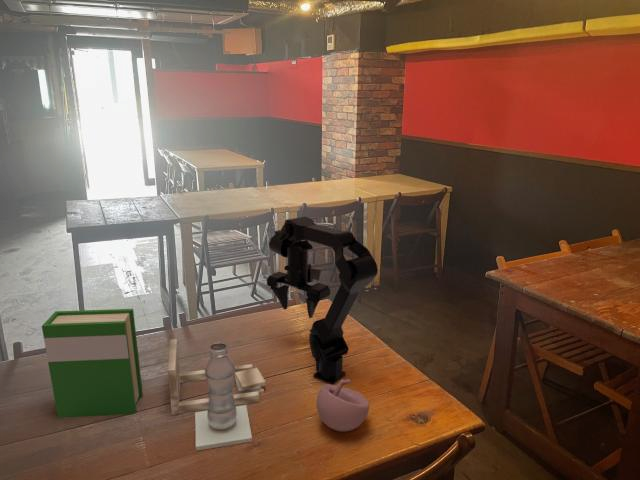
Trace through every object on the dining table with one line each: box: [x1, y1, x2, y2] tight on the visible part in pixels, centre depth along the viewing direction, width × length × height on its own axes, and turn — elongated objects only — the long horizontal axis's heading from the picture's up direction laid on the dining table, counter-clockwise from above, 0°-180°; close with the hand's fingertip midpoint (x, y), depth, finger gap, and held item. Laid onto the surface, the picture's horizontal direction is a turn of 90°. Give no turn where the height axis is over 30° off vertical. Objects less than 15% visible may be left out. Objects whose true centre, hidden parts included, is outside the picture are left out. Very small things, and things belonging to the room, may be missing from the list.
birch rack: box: [167, 338, 260, 416], centre depth 124 cm, size 21×15×12 cm
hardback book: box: [41, 308, 144, 419], centre depth 116 cm, size 18×7×24 cm, turn 96°
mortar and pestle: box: [316, 378, 370, 432], centre depth 112 cm, size 12×12×12 cm
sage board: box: [194, 404, 253, 452], centre depth 112 cm, size 12×12×1 cm
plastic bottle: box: [204, 342, 237, 430], centre depth 109 cm, size 6×7×20 cm
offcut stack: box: [234, 367, 266, 394], centre depth 128 cm, size 7×8×3 cm
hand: (297, 313), depth 140 cm, fingers open, 9 cm apart
